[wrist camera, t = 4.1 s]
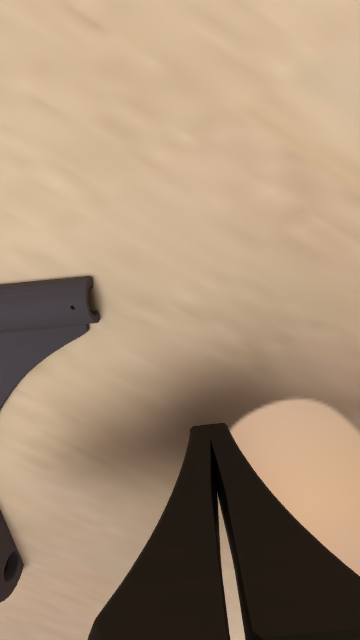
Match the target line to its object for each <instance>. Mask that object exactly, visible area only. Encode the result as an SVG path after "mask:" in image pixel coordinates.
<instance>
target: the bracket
mask: <svg viewBox="0 0 360 640" xmlns="http://www.w3.org/2000/svg"><path fill="white" fill-rule="evenodd" d="M89 287H93V279H92V277H91V276H86V277H76V278H66V279H55V280H45V281H35V282H24V283H14V284H4V285H0V409H1V407H2V406H3V404H4V403H5V401H6V400H7V398H8V397H9V395H10V394H11V392H12V391H13V389H14V388H15V387H16V385H17V384H18V383H19V382H20V381H21V379H22V378H23V377H24V376H25V375H26V374H27V373H28V372H29V371H30V370H31V369H32V368H33V367H35V366H36V365H37V364H38V363H39V362H41V361H42V360H43V359H45V358H46V357H47V356H49V355H50V354H52V353H53V352H55V351H56V350H58V349H59V348H61V347H63V346H64V345H66V344H68V343H69V342H71V341H73V340H75V339H76V338H78V337H80V336H82V335H83V334H85V333H86V332H87V331H88V330H89V324H90V323H98V322H99V320H100V315H99V312H98V311H90V308H89V304H88V290H89ZM7 559H8V565H7V566H5V565H6V562H7ZM23 565H24V564H23V562H22V559H21V557H20V555H19V553H18V550H17V548H16V545H15V543H14V541H13V538H12V536H11V534H10V531H9V529H8V527H7V524H6V522H5V520H4V517H3V515H2V513H1V510H0V602H2V601H4V600H5V599H6V598H8V597H9V595H10V594H11V593H12V592H13V590H14V589H15V587H16V585H17V583H18V581H19V579H20V576H21V573H22V569H23Z"/></svg>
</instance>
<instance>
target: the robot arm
mask: <svg viewBox="0 0 360 640" xmlns="http://www.w3.org/2000/svg"><path fill="white" fill-rule="evenodd" d="M217 493H218V497H219V502H220V506H221V511H222V515H223V519H224V524H225V528H226V532H227V537H228V541H229V545H230V550H231V554H232V559H233V564H234V569H235V574H236V581H237V587H238V594H239V600H240V607H241V613H242V620H243V626H244V633H245V639H246V640H360V576H358V575H357V574H356V573H355V572H354V571H353V570H351V569H350V568H349V567H348V566H346V565H345V564H344V563H343V562H342V561H340V560H339V559H338V558H337V557H336V556H335V555H334V554H333V553H331V552H330V551H329V550H328V549H327V548H326V547H324V546H323V545H322V544H321V543H320V542H319V541H318V540H317V539H316V538H315V537H314V536H313V535H312V534H311V533H310V532H309V531H308V530H306V529H305V528H304V527H303V526H302V525H301V524H300V523H299V522H298V521H297V520H296V519H295V518H294V517H293V516H292V515H291V514H290V513H289V511H288V510H287V509H285V507H284V506H283V505H282V504H281V503H280V502H279V501H278V499H277V498H276V497H275V496H274V495H273V494H272V493H271V491H270V490H269V489H268V488H267V487H266V485H265V484H264V483H263V482H262V480H261V479H260V478H259V476H257V474H256V472H255V471H254V470H253V468H252V467H251V465H250V464H249V463H248V461H247V460H246V458H245V457H244V455H243V454H242V452H241V451H240V449H239V448H238V446H237V444H236V442H235V441H234V439H233V437H232V435H231V433H230V431H229V429H228V427H227V425H226V424H225V423H218V424H210V425H201V426H193V427H192V428H191V429H190V437H189V443H188V447H187V451H186V455H185V458H184V461H183V464H182V468H181V471H180V474H179V476H178V479H177V481H176V484H175V487H174V489H173V492H172V494H171V496H170V499H169V501H168V503H167V505H166V508H165V510H164V512H163V514H162V516H161V518H160V520H159V522H158V524H157V526H156V527H155V529H154V531H153V533H152V535H151V537H150V539H149V540H148V542H147V544H146V545H145V547H144V549H143V551H142V552H141V554H140V555H139V557H138V558H137V560H136V562H135V563H134V565H133V566H132V568H131V569H130V571H129V573H128V574H127V576H126V577H125V579H124V580H123V582H122V583H121V585H120V586H119V587H118V589H117V590H116V591H115V593H114V594H113V595H112V597H111V598H110V600H109V601H108V602H107V604H106V605H105V606H104V608H103V609H102V611H101V612H100V613H99V615H98V616H97V617H96V619H95V621H94V623H93V626H92V629H91V632H90V634H89V637H88V640H230V635H229V627H228V619H227V611H226V603H225V594H224V586H223V578H222V569H221V556H220V536H219V516H218V497H217Z"/></svg>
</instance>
